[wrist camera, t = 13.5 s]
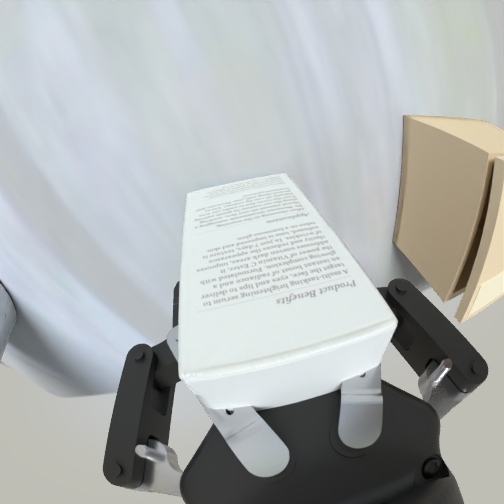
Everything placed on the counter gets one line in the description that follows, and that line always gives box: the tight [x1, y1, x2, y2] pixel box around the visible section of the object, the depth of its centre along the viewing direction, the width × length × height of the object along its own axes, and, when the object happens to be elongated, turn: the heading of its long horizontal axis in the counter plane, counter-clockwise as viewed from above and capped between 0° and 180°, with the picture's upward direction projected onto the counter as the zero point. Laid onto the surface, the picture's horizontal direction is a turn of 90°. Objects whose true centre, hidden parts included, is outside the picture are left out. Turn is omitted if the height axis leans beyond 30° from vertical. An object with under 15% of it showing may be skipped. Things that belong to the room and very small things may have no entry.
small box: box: [178, 173, 398, 415], centre depth 12 cm, size 8×6×10 cm
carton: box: [393, 115, 504, 302], centre depth 14 cm, size 10×10×7 cm
